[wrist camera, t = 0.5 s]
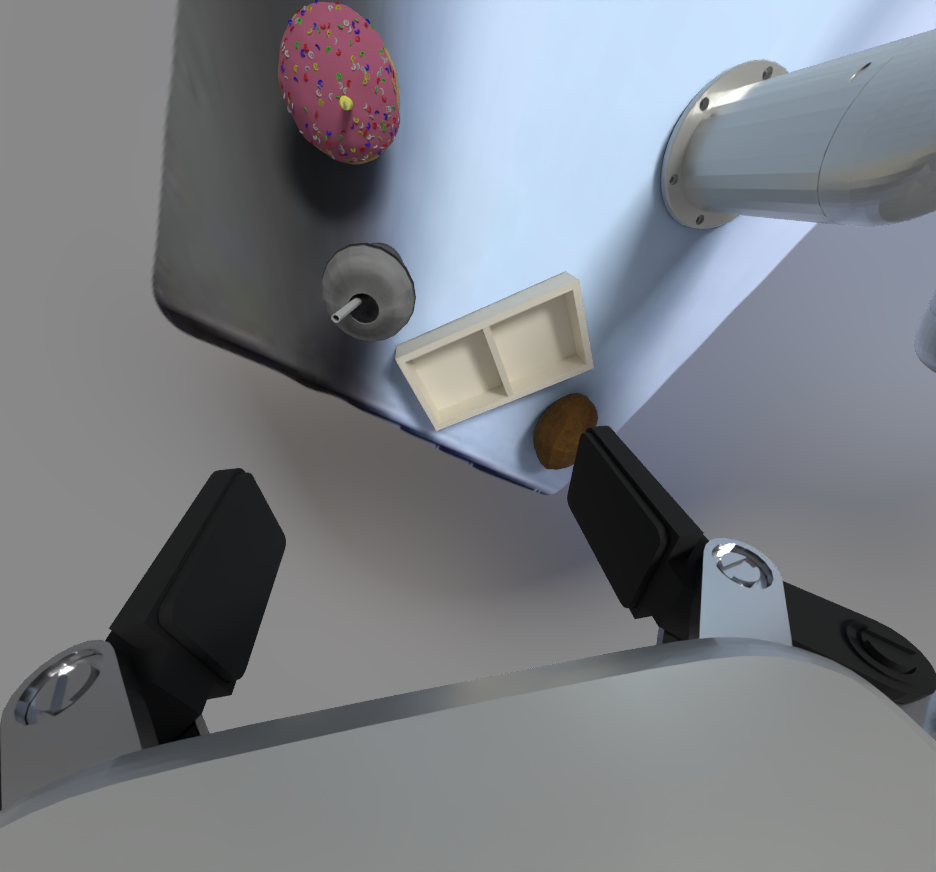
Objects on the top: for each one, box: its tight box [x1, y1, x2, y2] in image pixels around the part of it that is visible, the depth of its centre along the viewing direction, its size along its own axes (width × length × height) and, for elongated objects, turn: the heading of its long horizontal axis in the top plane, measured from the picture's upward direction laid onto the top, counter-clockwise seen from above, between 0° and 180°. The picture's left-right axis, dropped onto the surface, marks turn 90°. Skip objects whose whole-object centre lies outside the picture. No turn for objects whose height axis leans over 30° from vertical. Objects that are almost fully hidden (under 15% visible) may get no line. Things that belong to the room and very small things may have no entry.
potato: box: [533, 393, 598, 470], centre depth 48 cm, size 8×12×8 cm, turn 170°
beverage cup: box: [322, 243, 416, 342], centre depth 28 cm, size 7×7×20 cm
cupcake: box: [278, 0, 400, 164], centre depth 24 cm, size 9×8×12 cm
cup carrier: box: [395, 271, 594, 431], centre depth 42 cm, size 22×11×4 cm, turn 112°
